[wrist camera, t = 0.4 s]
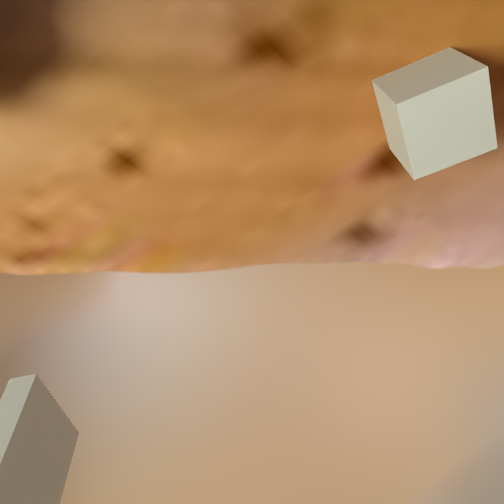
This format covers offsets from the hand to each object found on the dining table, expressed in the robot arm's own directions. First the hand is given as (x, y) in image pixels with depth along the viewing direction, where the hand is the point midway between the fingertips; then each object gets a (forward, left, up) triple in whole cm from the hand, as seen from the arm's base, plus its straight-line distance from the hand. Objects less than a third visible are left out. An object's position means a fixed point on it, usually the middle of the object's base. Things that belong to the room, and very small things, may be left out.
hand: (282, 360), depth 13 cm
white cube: (+5, +13, -28) cm, 31 cm away
